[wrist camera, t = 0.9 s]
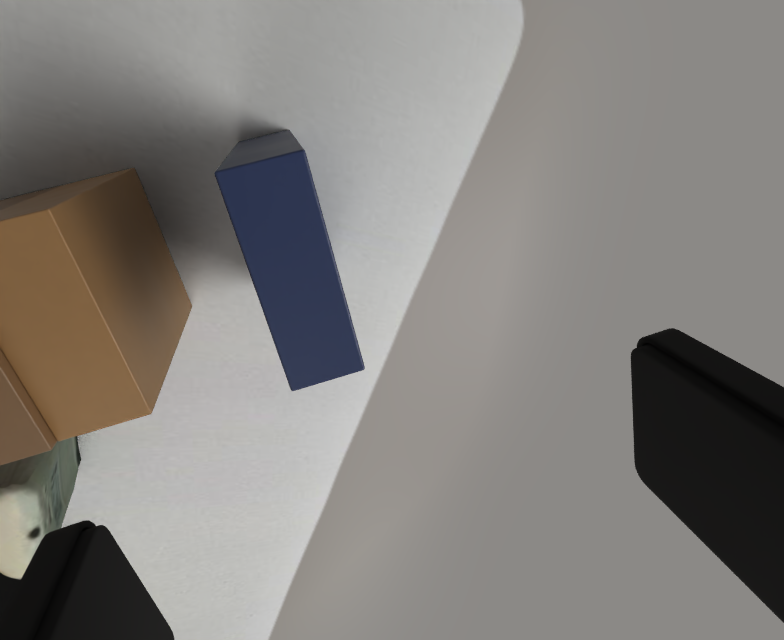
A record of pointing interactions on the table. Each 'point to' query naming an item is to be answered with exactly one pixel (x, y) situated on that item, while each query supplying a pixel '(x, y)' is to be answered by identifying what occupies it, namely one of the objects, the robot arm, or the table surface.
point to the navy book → (290, 257)
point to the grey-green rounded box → (34, 502)
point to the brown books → (83, 311)
